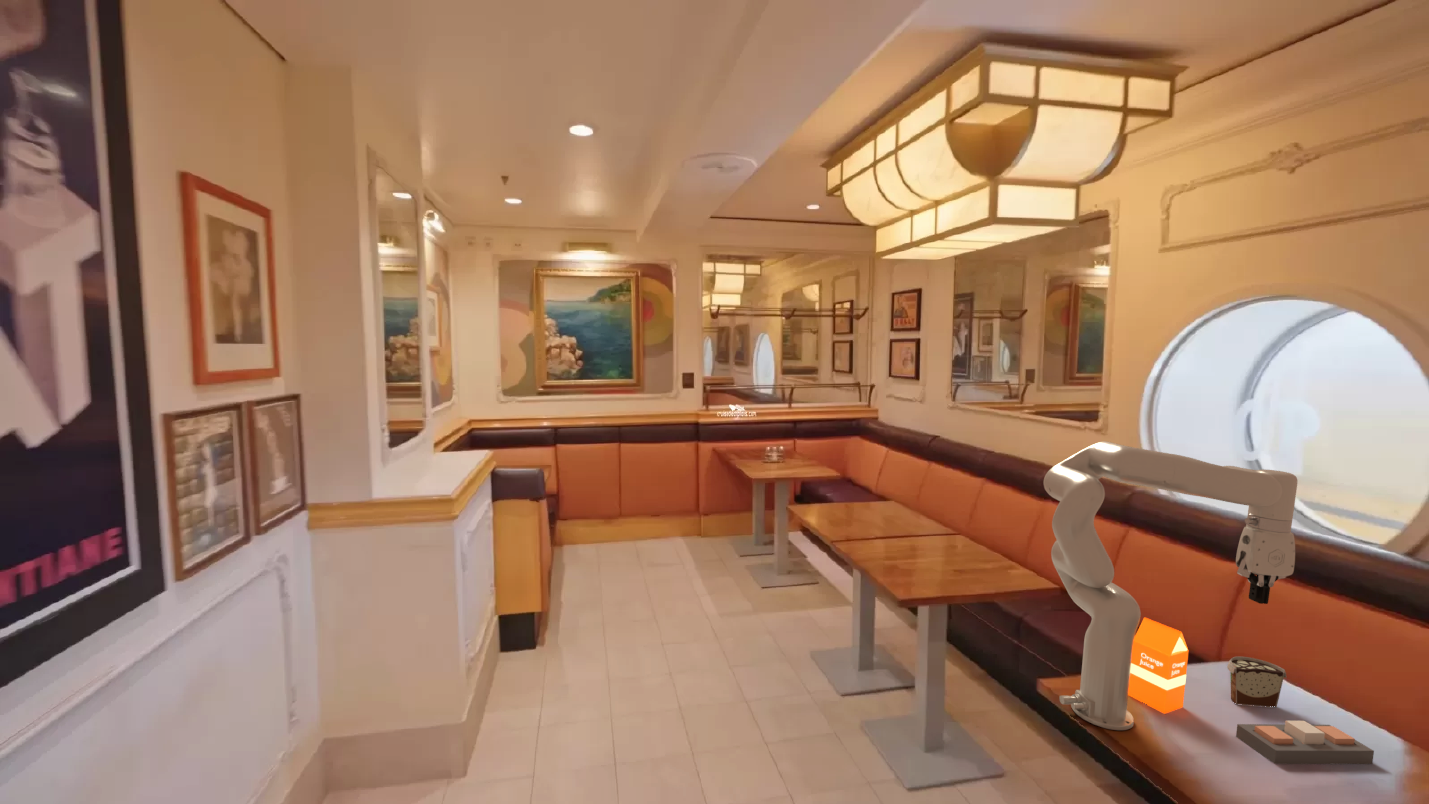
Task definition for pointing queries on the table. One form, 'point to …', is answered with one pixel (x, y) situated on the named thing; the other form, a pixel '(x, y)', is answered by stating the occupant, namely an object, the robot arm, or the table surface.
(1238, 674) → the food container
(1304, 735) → the middle button
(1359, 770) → the table surface
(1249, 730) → the control panel
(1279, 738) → the inner button
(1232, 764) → the table surface
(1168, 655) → the orange juice
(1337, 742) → the outer button
